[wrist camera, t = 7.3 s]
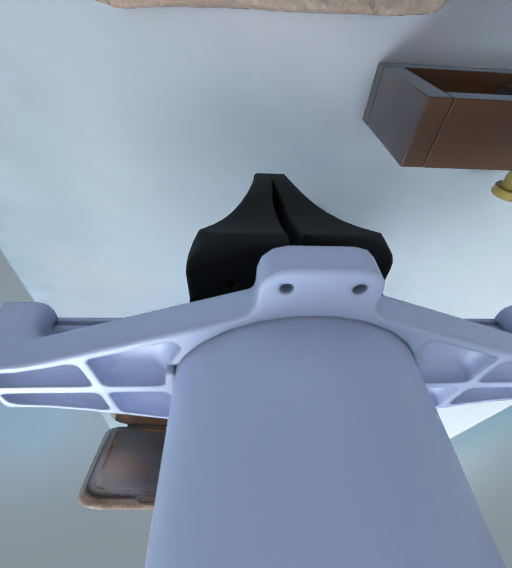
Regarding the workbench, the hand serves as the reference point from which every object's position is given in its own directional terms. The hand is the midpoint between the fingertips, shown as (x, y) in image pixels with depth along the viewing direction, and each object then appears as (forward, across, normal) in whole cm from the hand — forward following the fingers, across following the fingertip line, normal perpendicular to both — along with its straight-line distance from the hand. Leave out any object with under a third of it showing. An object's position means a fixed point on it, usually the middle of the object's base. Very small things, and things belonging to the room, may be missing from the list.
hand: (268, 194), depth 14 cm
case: (+10, +12, +45) cm, 48 cm away
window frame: (+9, -14, -2) cm, 17 cm away
